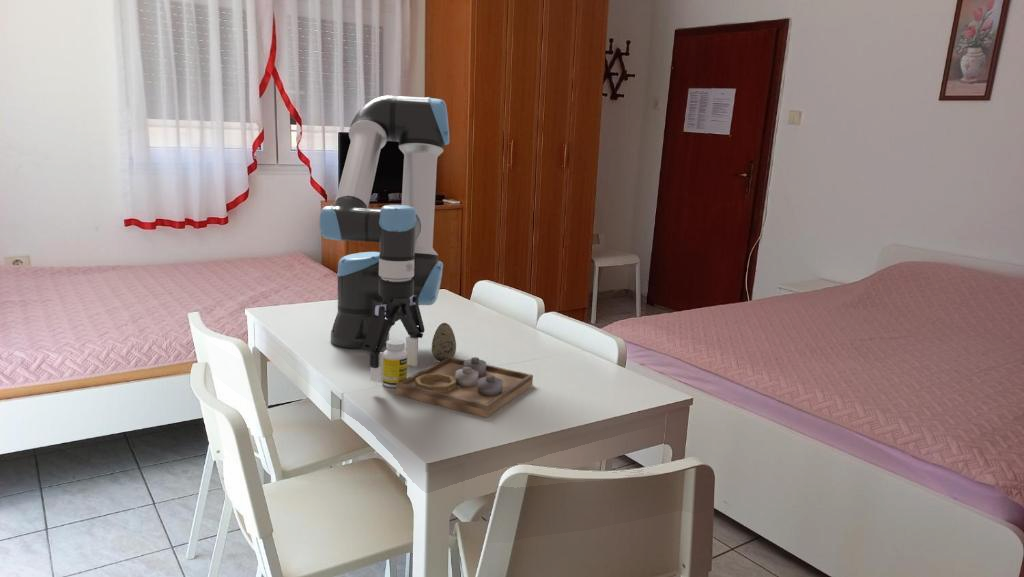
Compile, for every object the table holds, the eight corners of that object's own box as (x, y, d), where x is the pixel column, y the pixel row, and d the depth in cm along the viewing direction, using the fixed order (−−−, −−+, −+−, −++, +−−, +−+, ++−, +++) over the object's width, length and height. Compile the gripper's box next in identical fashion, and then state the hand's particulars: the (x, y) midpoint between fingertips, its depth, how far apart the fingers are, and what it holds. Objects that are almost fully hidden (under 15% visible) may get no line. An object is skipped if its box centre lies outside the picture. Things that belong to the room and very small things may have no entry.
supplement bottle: (401, 389, 153) (402, 346, 151) (378, 386, 154) (378, 343, 152) (410, 381, 158) (411, 339, 156) (387, 378, 159) (388, 337, 157)
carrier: (396, 394, 150) (396, 372, 149) (449, 366, 169) (450, 346, 168) (486, 417, 141) (487, 393, 140) (532, 385, 160) (533, 364, 159)
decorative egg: (460, 362, 173) (462, 323, 171) (444, 367, 168) (446, 327, 166) (441, 356, 176) (443, 318, 174) (426, 362, 172) (427, 322, 169)
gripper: (375, 290, 138) (374, 392, 143) (441, 271, 160) (438, 361, 165) (345, 284, 142) (345, 385, 146) (414, 267, 163) (411, 355, 168)
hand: (394, 372), depth 155 cm, fingers open, 12 cm apart
